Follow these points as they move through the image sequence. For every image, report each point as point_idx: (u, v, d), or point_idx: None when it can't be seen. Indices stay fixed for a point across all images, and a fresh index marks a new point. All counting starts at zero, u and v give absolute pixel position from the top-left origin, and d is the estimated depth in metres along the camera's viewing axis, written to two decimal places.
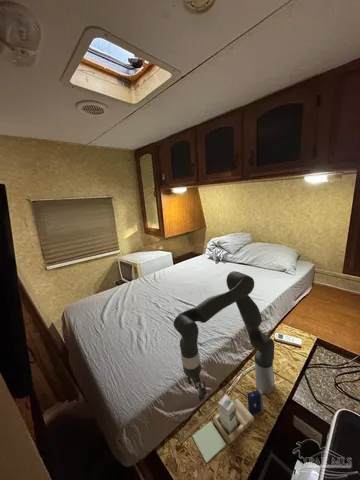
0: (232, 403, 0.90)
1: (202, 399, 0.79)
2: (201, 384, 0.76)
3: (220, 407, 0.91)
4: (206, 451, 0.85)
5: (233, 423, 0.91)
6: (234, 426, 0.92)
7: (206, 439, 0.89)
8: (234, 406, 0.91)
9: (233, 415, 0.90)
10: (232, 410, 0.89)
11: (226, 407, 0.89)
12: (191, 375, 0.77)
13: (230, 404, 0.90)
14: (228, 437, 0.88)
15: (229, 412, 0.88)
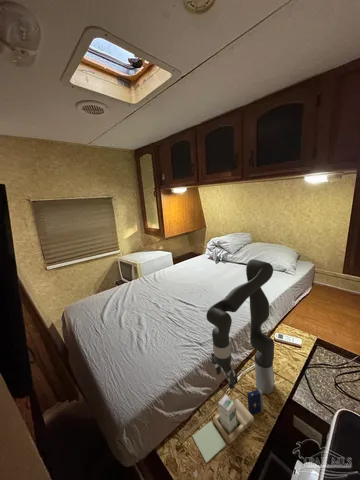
0: (232, 403, 0.90)
1: (232, 387, 0.83)
2: (233, 373, 0.80)
3: (220, 407, 0.91)
4: (206, 451, 0.85)
5: (233, 423, 0.91)
6: (234, 426, 0.92)
7: (206, 439, 0.89)
8: (234, 406, 0.91)
9: (233, 415, 0.90)
10: (232, 410, 0.89)
11: (226, 407, 0.89)
12: (223, 364, 0.81)
13: (230, 404, 0.90)
14: (228, 437, 0.88)
15: (229, 412, 0.88)
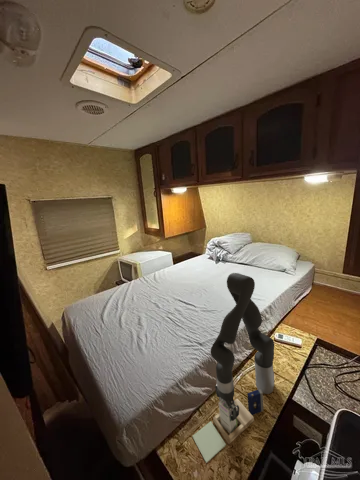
0: None
1: (234, 419, 0.88)
2: (236, 408, 0.84)
3: (220, 407, 0.91)
4: (206, 451, 0.85)
5: (233, 423, 0.91)
6: (234, 426, 0.92)
7: (206, 439, 0.89)
8: None
9: None
10: (232, 410, 0.89)
11: (226, 407, 0.89)
12: (226, 398, 0.86)
13: None
14: (228, 437, 0.88)
15: (229, 412, 0.88)
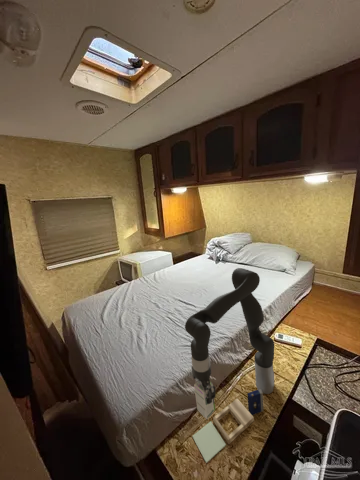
0: None
1: (210, 402, 0.79)
2: (211, 389, 0.76)
3: (196, 389, 0.82)
4: (206, 451, 0.85)
5: (210, 408, 0.82)
6: (211, 410, 0.83)
7: (206, 439, 0.89)
8: None
9: None
10: (208, 392, 0.80)
11: (202, 389, 0.80)
12: (201, 378, 0.77)
13: None
14: (228, 437, 0.88)
15: (205, 395, 0.79)
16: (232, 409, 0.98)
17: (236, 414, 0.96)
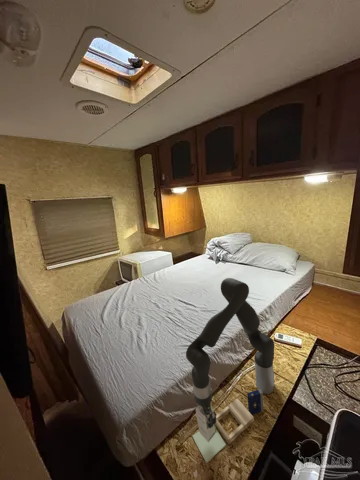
0: None
1: (211, 426, 0.82)
2: (212, 415, 0.78)
3: (197, 413, 0.85)
4: (206, 451, 0.85)
5: (211, 431, 0.85)
6: (213, 433, 0.86)
7: None
8: None
9: None
10: (209, 417, 0.83)
11: (203, 413, 0.83)
12: (202, 404, 0.80)
13: None
14: (228, 437, 0.88)
15: (206, 419, 0.82)
16: (232, 409, 0.98)
17: (236, 414, 0.96)
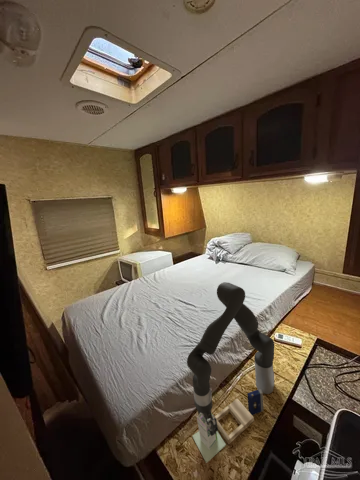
0: None
1: (213, 434, 0.82)
2: (213, 421, 0.79)
3: (198, 421, 0.86)
4: (206, 451, 0.85)
5: (212, 438, 0.86)
6: (213, 441, 0.87)
7: None
8: None
9: None
10: (210, 425, 0.84)
11: (204, 421, 0.84)
12: (203, 412, 0.80)
13: (209, 418, 0.85)
14: (228, 437, 0.88)
15: (207, 427, 0.83)
16: (232, 409, 0.98)
17: (236, 414, 0.96)
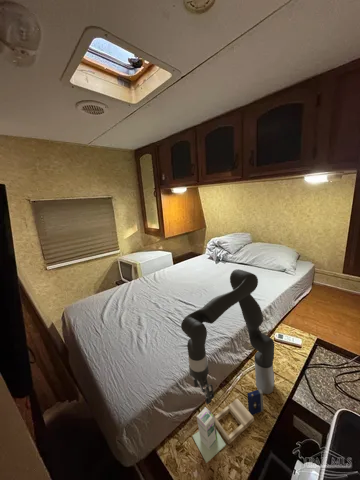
0: (211, 417, 0.85)
1: (209, 402, 0.78)
2: (209, 387, 0.75)
3: (198, 421, 0.86)
4: (206, 451, 0.85)
5: (212, 438, 0.86)
6: (213, 441, 0.87)
7: None
8: (213, 420, 0.86)
9: (212, 430, 0.85)
10: (210, 425, 0.84)
11: (204, 421, 0.84)
12: (198, 378, 0.76)
13: (209, 418, 0.85)
14: (228, 437, 0.88)
15: (207, 427, 0.83)
16: (232, 409, 0.98)
17: (236, 414, 0.96)
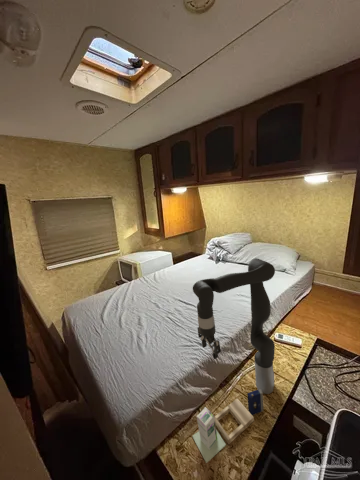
0: (211, 417, 0.85)
1: (216, 357, 0.89)
2: (216, 342, 0.85)
3: (198, 421, 0.86)
4: (206, 451, 0.85)
5: (212, 438, 0.86)
6: (213, 441, 0.87)
7: None
8: (213, 420, 0.86)
9: (212, 430, 0.85)
10: (210, 425, 0.84)
11: (204, 421, 0.84)
12: (207, 335, 0.87)
13: (209, 418, 0.85)
14: (228, 437, 0.88)
15: (207, 427, 0.83)
16: (232, 409, 0.98)
17: (236, 414, 0.96)
